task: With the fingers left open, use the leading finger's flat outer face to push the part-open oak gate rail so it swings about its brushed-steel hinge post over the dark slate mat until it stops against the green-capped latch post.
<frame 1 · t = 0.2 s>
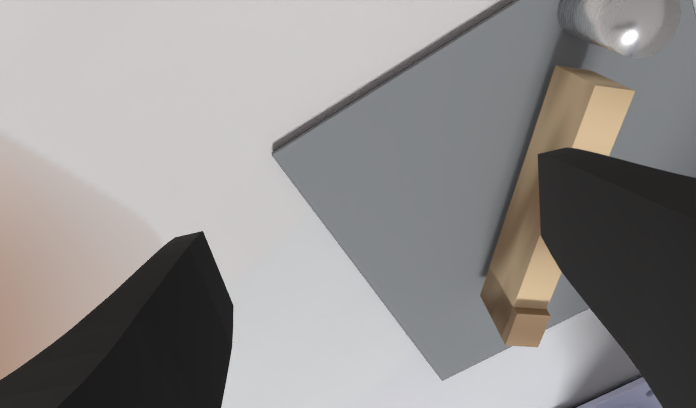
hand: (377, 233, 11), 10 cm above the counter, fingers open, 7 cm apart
gate posts: (580, 6, 19), resting on mat
gate: (546, 213, 20), point 2 cm above the counter, hinge at -40.0°
mat: (528, 192, 22), on the counter
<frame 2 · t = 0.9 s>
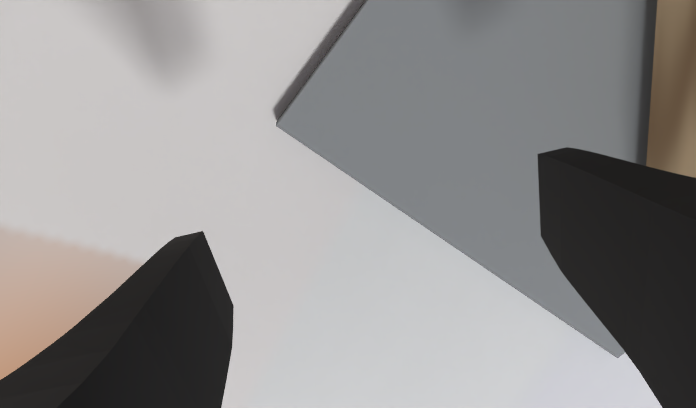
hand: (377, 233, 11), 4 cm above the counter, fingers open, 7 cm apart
mat: (673, 51, 14), on the counter
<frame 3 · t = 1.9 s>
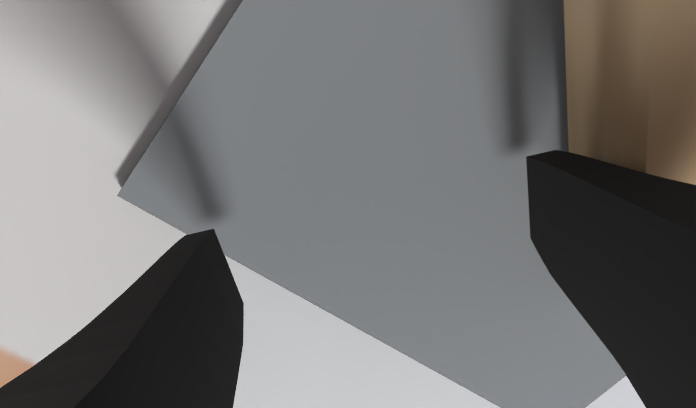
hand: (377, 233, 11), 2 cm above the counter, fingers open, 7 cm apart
gate: (644, 133, 10), point 2 cm above the counter, hinge at -38.6°, touching gripper
mat: (589, 105, 12), on the counter
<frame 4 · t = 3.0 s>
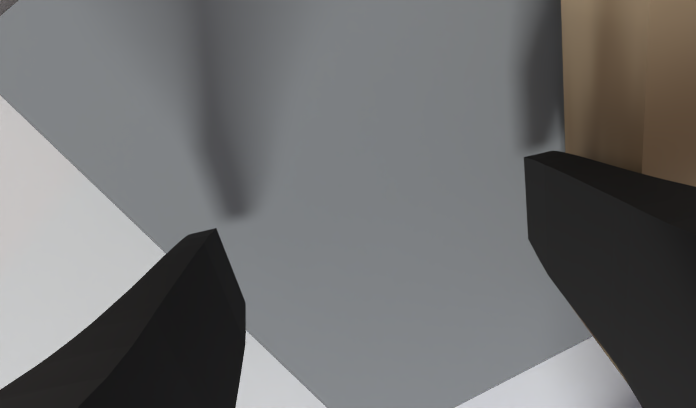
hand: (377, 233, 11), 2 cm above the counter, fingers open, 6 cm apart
gate: (640, 137, 10), point 2 cm above the counter, hinge at -20.7°, touching gripper
mat: (487, 122, 12), on the counter
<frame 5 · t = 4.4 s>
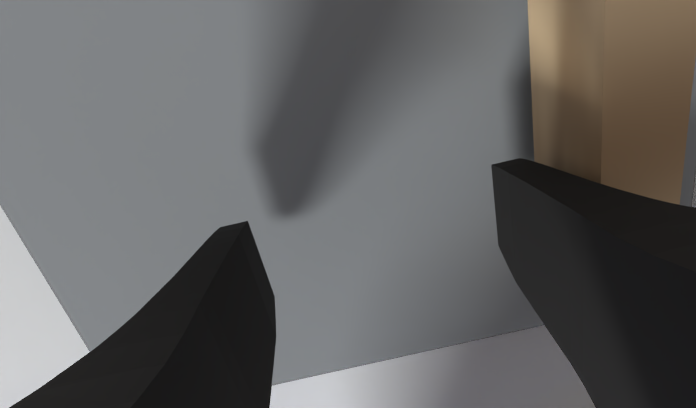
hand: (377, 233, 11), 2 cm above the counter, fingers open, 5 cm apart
gate: (604, 146, 10), point 2 cm above the counter, hinge at 0.0°, touching gate posts, gripper
mat: (345, 101, 11), on the counter
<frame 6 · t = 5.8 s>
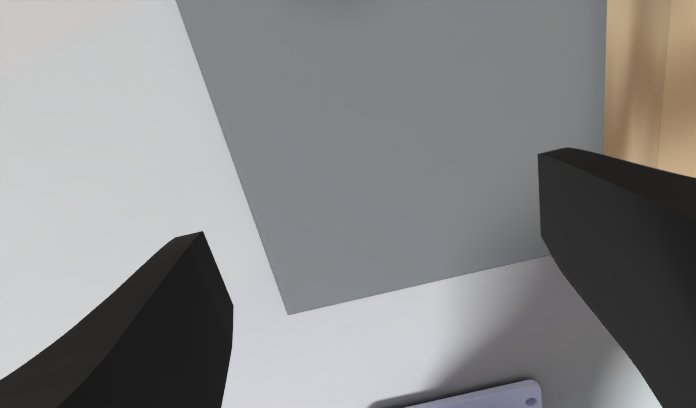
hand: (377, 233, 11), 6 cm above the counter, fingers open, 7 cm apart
gate: (659, 98, 14), point 2 cm above the counter, hinge at 0.0°, touching gate posts
mat: (471, 72, 16), on the counter
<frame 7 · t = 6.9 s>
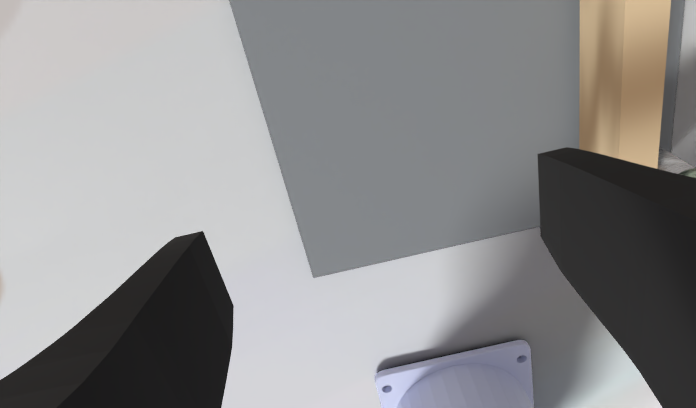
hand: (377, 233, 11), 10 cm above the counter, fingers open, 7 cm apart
gate: (621, 92, 18), point 2 cm above the counter, hinge at 0.0°, touching gate posts
mat: (470, 71, 20), on the counter
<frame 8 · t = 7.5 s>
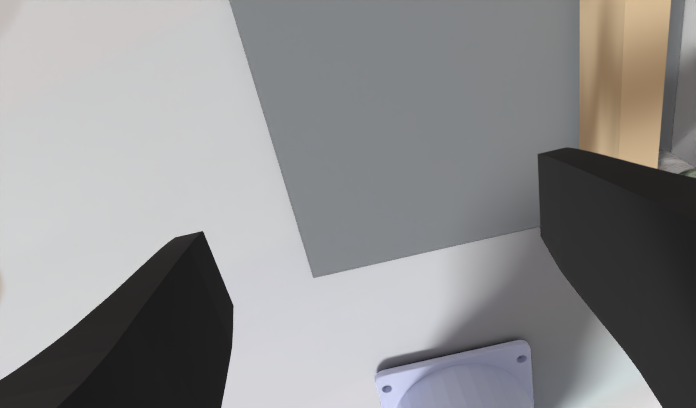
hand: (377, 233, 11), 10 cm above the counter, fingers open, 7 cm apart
gate: (621, 92, 18), point 2 cm above the counter, hinge at 0.0°, touching gate posts
mat: (470, 71, 20), on the counter
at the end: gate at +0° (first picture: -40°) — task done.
